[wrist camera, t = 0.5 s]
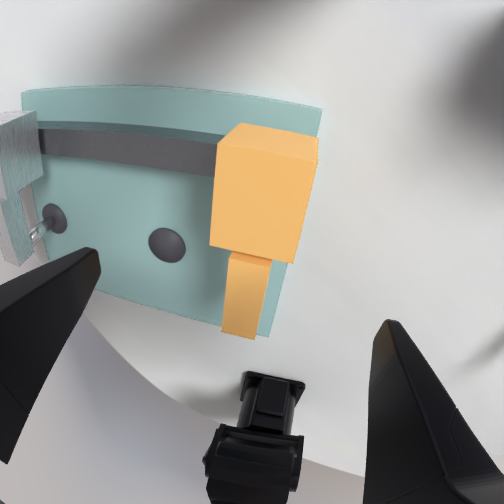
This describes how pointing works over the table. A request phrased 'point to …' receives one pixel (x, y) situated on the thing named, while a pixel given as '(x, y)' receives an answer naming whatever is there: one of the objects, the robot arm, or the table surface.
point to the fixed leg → (19, 184)
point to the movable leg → (258, 212)
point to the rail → (132, 145)
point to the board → (151, 196)
